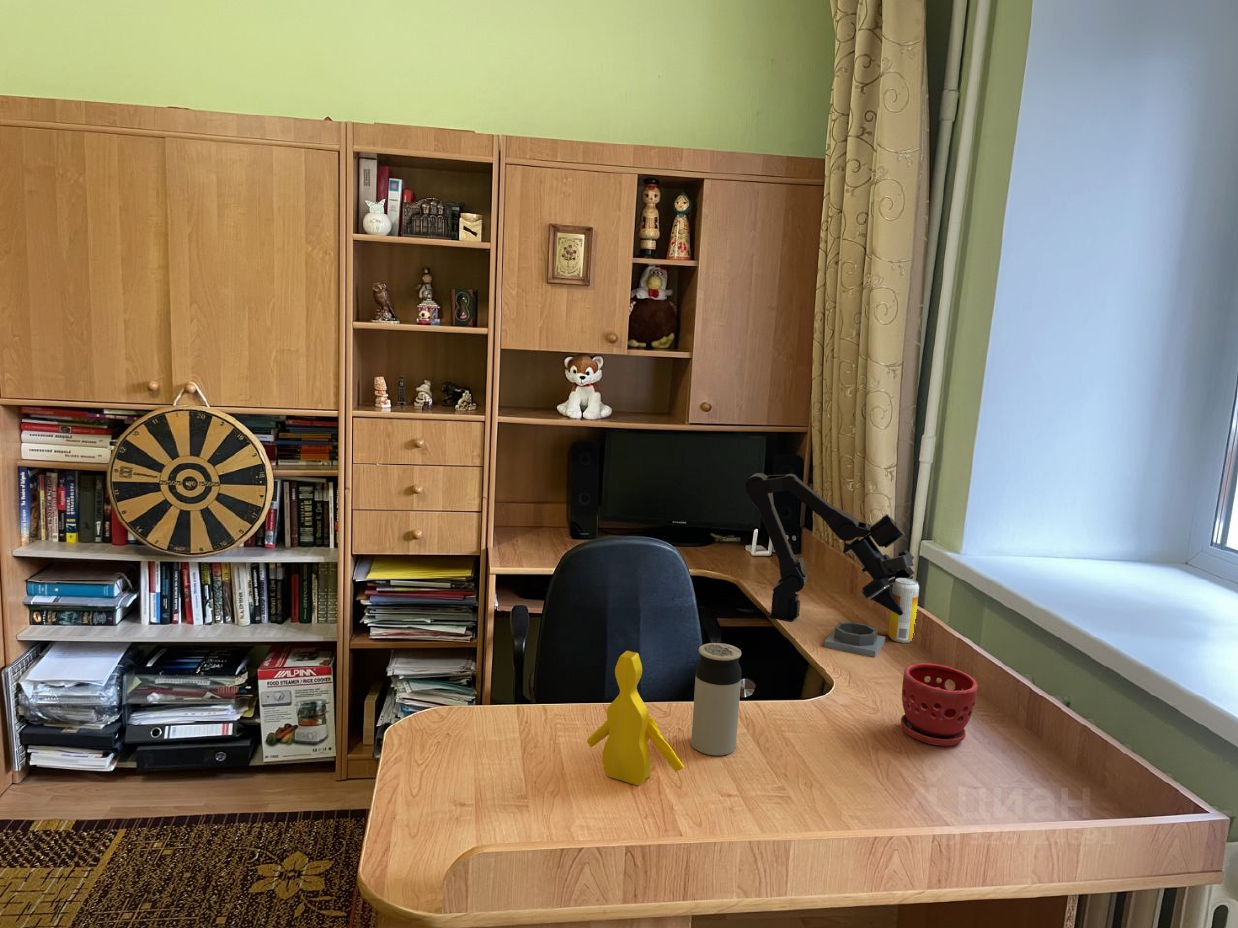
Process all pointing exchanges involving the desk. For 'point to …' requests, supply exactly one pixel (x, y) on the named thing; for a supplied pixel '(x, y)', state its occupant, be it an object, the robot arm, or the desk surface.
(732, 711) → the travel mug
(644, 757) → the figure statuette
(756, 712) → the desk surface
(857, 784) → the desk surface
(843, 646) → the collar dock
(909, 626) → the beer can
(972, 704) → the plant pot
